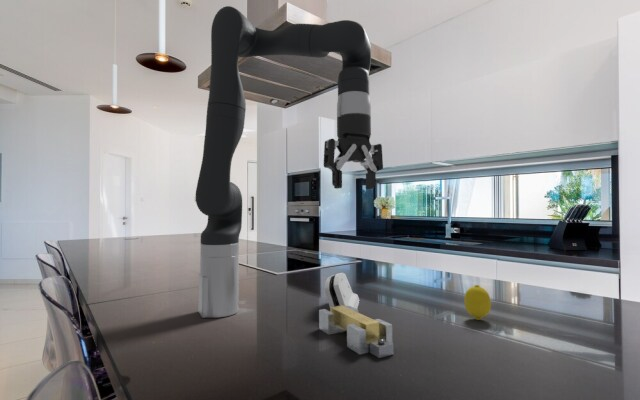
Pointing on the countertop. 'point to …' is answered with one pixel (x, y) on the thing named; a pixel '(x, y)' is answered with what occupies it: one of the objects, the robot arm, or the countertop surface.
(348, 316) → the link bar
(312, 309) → the countertop surface
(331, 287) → the white rounded housing
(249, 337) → the countertop surface
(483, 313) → the lemon
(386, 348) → the linkage with metal pins
